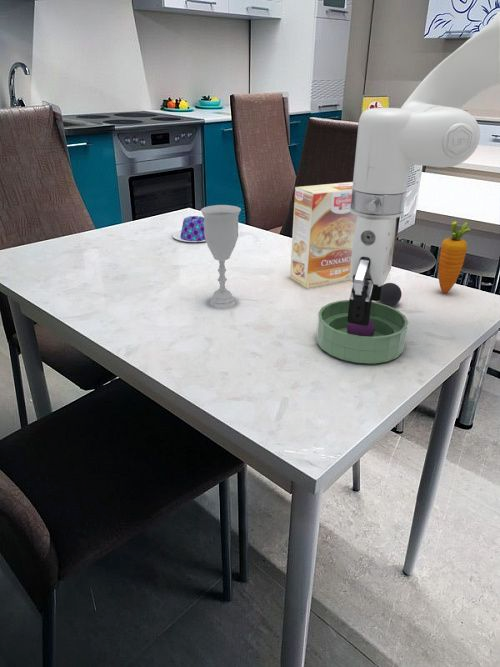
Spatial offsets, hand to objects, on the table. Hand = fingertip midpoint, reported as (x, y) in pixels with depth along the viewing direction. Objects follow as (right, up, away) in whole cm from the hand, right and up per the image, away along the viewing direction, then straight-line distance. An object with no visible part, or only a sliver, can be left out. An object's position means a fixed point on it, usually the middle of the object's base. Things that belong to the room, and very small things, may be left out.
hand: (364, 310), depth 80 cm
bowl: (0, -5, +3) cm, 6 cm away
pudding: (-33, +22, +55) cm, 68 cm away
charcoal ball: (+8, +2, +17) cm, 19 cm away
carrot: (+21, +4, +23) cm, 31 cm away
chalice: (-23, +2, +17) cm, 29 cm away
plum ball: (0, -5, +3) cm, 6 cm away
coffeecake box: (-1, +8, +30) cm, 31 cm away
